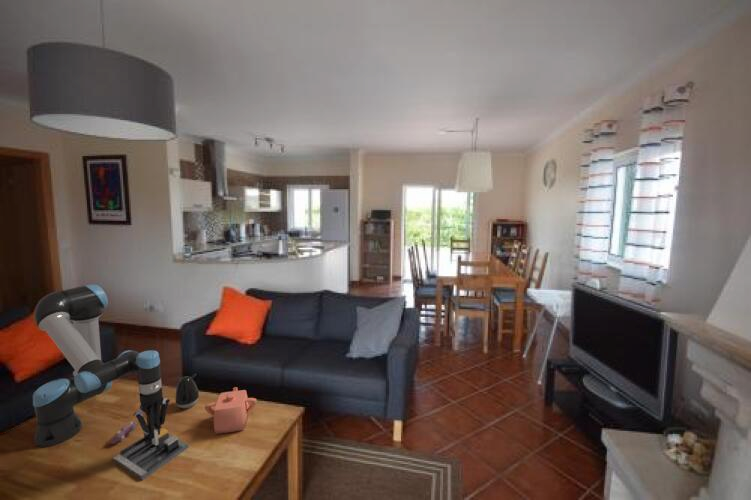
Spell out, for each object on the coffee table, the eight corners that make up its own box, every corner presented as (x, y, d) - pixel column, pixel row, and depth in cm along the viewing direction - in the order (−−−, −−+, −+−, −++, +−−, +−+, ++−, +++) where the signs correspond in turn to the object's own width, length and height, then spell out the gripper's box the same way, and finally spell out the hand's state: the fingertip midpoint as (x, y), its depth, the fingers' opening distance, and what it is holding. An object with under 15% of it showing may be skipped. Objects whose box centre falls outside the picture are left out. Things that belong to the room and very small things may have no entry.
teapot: (255, 430, 150) (253, 401, 147) (202, 437, 145) (199, 408, 143) (260, 403, 169) (259, 377, 166) (213, 409, 164) (211, 383, 162)
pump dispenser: (204, 402, 169) (201, 375, 166) (183, 414, 160) (180, 385, 158) (192, 396, 174) (190, 369, 172) (172, 407, 166) (168, 378, 163)
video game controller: (116, 449, 141) (120, 437, 139) (107, 443, 141) (111, 431, 140) (136, 432, 150) (141, 421, 149) (128, 427, 151) (132, 415, 149)
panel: (113, 460, 133) (111, 446, 132) (159, 432, 148) (158, 419, 147) (142, 480, 124) (140, 465, 123) (188, 447, 139) (187, 434, 138)
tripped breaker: (155, 444, 139) (154, 434, 138) (165, 438, 142) (163, 428, 141) (159, 447, 137) (158, 436, 136) (169, 440, 141) (168, 430, 140)
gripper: (138, 400, 126) (144, 457, 130) (172, 384, 137) (176, 437, 141) (127, 395, 130) (133, 450, 133) (161, 380, 141) (165, 431, 144)
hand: (155, 443), depth 137 cm, fingers closed
